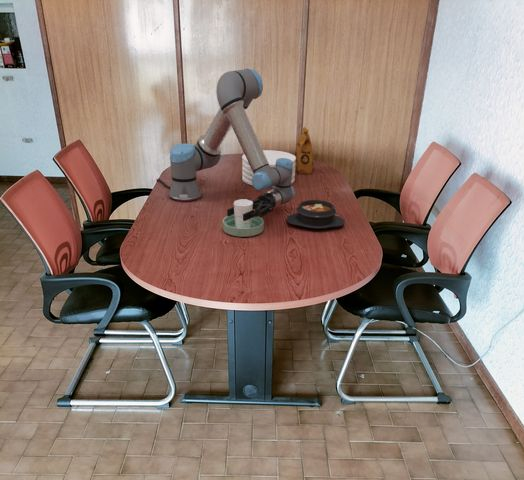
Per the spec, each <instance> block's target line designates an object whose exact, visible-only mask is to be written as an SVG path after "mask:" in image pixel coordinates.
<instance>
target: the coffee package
mask: <svg viewBox="0 0 524 480" xmlns="http://www.w3.org/2000/svg"><path fill="white" fill-rule="evenodd" d="M301 131H302V133H301V134H300V136H299V138H298V139H297V141H296V148H295V154H294V156H295V157H296V161H295V163H296V165H295V170H296V171H297V173H298V174H304V175H310V174H312V173H313V169H314V168H313V167H314V151H313V145H312V140H311V137H310V134H309V129H308V128H306V127H305V126H304V127H302V128H301Z"/></svg>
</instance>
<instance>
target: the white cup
mask: <svg viewBox="0 0 524 480" xmlns="http://www.w3.org/2000/svg"><path fill="white" fill-rule="evenodd" d="M250 200H251V199H250ZM250 200H246V199H245V198H244V199H243V198H241V199H236V200H234V201H233V207H234V216H235V226H236V227H237V228H250V227H251V224H252V218H250V219H248V220H246V221H243V214H245V213H247V212H249V211H252V210H254V209H253V202H252V201H253V200H251V201H250Z"/></svg>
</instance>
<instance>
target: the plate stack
mask: <svg viewBox="0 0 524 480" xmlns="http://www.w3.org/2000/svg"><path fill="white" fill-rule="evenodd" d="M262 150H263V152H264V154H265V157H266V159H267V161H268V163H269V165H270V167H271V168H272V167H275V164H276V160H277V159H279V158H287V159H290V160H292V162H293V172H292V181H291V185H292V184H293V183H294V182H295V180H296V177H295V176H296V166H295V165H296V163H295V161H296V157H295V154H292V153H290V152H287V151H283V150H273V149H262ZM241 159H242V160H241V165H242V166H241V169H242V171H241V175H242V178H241V180H242V181H243V182H244V183H245V184H247V185H250V186H253V184H252V177H253V175H254V174H253V171H252V169H251V167H250V165H249V163H248V160H247V158H246V156H245V154H244V153H243V154H242V156H241ZM272 188H274V186H273V187H272Z"/></svg>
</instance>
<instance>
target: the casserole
mask: <svg viewBox="0 0 524 480" xmlns="http://www.w3.org/2000/svg"><path fill="white" fill-rule="evenodd" d="M296 212H297V213H292V214H290V215H288V216H287V217H286V221H287V223H288V224H290V225H293V226H299V227H302V228H303V227H304V228H308V229H313V230H314V229H315V230H322V229H328V228H336V227H341V226H344V224H345V219H344V218H343V217H341V216H339V215H336V213H337V210H336V208H335V205H334V204H333V203H331V202H329V201H326V200H320V199H307V200H304V201H301V202H300V203H299V204H298V206H297V207H296Z"/></svg>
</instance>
